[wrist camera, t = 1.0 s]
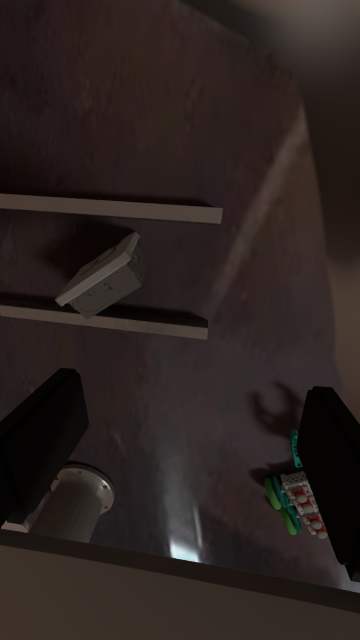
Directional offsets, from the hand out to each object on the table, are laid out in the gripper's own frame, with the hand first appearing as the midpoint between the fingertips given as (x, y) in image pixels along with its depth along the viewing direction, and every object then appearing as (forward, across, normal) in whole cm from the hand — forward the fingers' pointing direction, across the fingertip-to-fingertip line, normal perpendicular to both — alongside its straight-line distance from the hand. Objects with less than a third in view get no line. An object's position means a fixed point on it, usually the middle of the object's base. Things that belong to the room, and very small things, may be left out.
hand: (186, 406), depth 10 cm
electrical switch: (+22, +11, -2) cm, 25 cm away
